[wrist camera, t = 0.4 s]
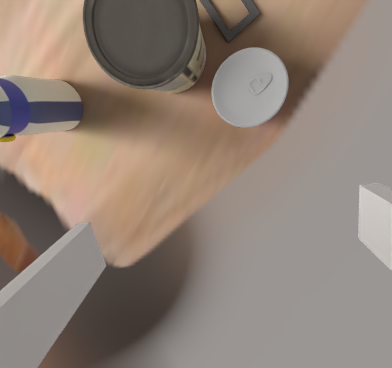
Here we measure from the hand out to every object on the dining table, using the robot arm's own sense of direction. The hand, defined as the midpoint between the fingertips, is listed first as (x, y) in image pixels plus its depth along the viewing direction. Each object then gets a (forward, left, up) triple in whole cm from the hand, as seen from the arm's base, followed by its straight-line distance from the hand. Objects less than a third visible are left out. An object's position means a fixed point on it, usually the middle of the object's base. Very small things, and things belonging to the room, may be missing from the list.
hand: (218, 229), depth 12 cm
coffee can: (-14, -3, -27) cm, 31 cm away
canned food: (-6, +5, -27) cm, 28 cm away
